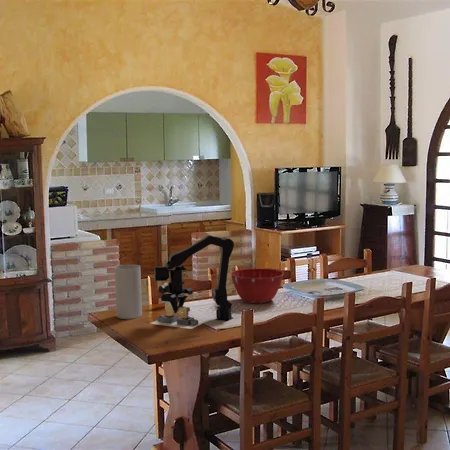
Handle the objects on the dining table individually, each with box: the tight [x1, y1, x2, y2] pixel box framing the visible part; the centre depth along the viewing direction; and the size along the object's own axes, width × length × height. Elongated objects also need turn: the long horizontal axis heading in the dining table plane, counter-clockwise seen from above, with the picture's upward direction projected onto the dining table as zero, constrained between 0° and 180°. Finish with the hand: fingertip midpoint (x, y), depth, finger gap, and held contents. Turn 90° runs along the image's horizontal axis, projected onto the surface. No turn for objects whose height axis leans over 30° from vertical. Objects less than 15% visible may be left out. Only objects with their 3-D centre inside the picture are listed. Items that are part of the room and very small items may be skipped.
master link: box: [164, 305, 191, 319], centre depth 299 cm, size 12×3×5 cm, turn 62°
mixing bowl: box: [229, 268, 284, 305], centre depth 340 cm, size 28×28×16 cm
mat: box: [149, 317, 206, 330], centre depth 299 cm, size 23×13×1 cm, turn 62°
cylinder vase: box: [114, 264, 143, 320], centre depth 313 cm, size 12×12×25 cm
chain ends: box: [157, 314, 199, 327], centre depth 299 cm, size 21×6×2 cm, turn 62°
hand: (177, 312), depth 299 cm, fingers closed on master link, 3 cm apart
